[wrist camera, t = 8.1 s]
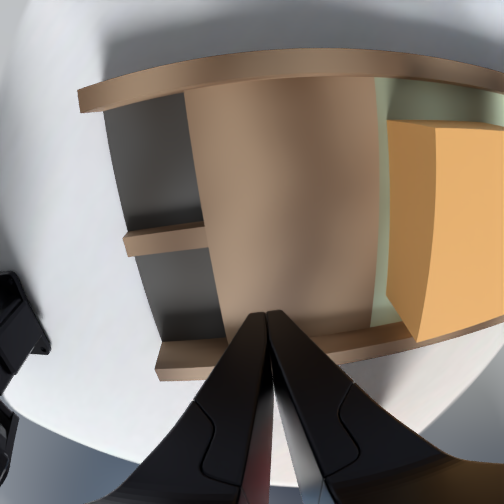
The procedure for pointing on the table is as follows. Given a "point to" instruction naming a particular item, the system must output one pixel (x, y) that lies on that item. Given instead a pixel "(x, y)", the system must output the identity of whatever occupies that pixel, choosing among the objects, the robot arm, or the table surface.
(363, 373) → the table surface
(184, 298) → the trap box
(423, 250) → the block
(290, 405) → the robot arm
